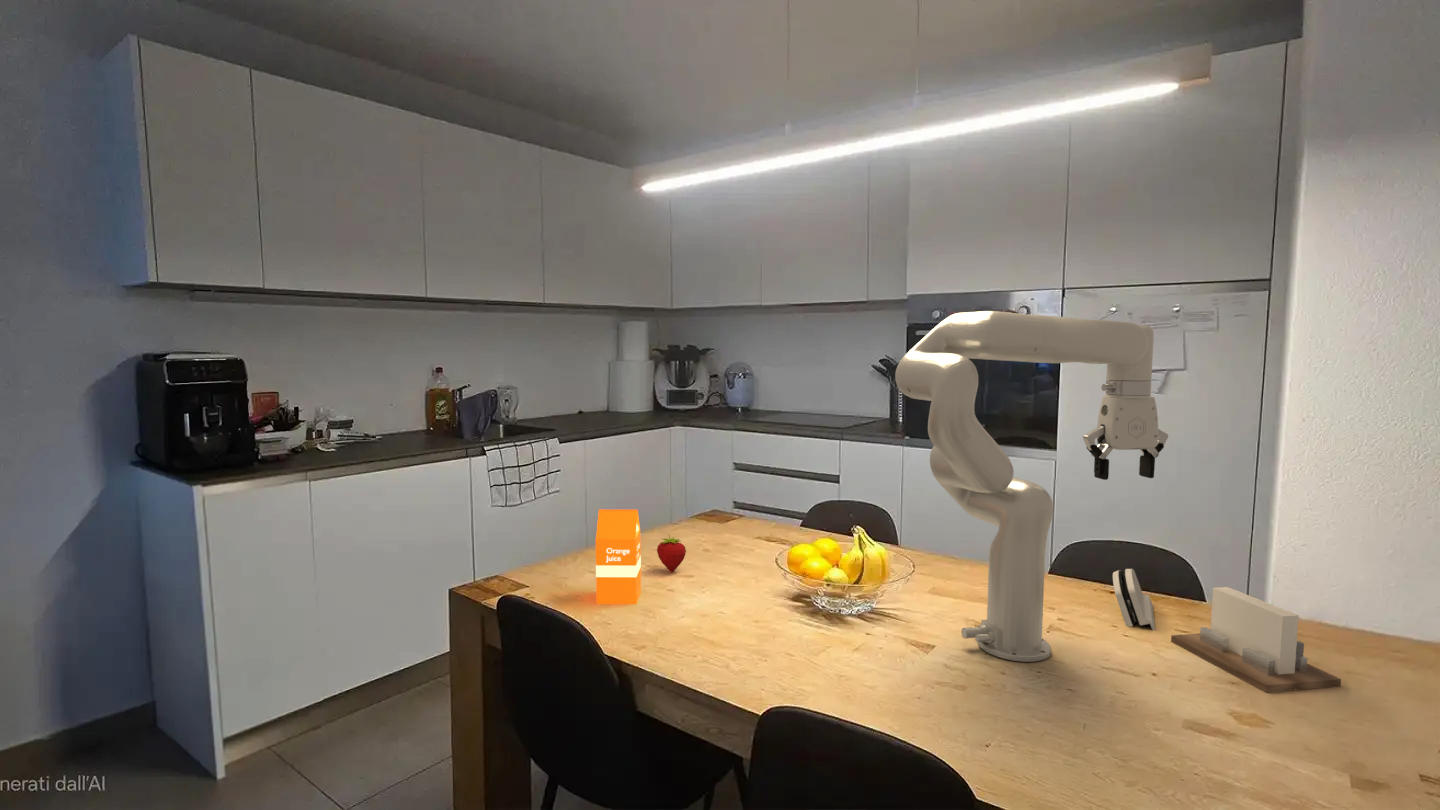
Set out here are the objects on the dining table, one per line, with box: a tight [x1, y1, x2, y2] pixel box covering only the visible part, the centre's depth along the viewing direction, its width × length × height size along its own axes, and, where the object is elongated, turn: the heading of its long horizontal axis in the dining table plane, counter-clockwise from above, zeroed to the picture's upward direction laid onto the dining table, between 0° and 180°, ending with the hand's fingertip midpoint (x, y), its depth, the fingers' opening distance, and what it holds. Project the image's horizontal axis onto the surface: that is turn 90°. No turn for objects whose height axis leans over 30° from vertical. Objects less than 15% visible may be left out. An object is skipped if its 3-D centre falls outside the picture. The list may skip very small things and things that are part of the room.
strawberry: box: [656, 535, 687, 573], centre depth 177 cm, size 6×8×10 cm
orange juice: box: [595, 509, 642, 605], centre depth 159 cm, size 8×9×20 cm
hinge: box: [1112, 568, 1156, 632], centre depth 149 cm, size 17×5×10 cm, turn 151°
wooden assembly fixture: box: [1170, 627, 1342, 693], centre depth 126 cm, size 14×20×5 cm
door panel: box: [1210, 586, 1299, 674], centre depth 126 cm, size 3×14×10 cm, turn 8°
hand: (1123, 477), depth 139 cm, fingers open, 9 cm apart
